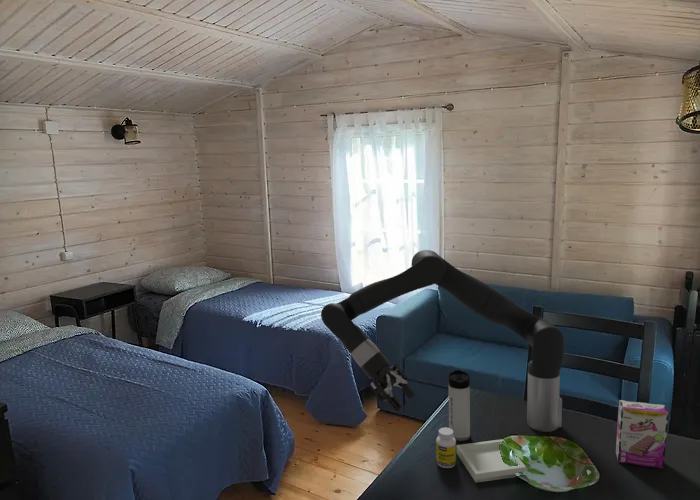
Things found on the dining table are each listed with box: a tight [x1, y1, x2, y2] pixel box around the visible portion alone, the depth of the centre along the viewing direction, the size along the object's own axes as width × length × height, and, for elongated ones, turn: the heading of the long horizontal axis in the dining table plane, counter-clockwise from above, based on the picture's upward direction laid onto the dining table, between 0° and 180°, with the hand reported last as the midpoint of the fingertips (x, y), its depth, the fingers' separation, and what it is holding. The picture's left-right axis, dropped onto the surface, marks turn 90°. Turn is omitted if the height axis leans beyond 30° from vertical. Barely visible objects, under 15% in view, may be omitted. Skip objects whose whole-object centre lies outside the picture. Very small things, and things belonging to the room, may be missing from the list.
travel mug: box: [448, 369, 471, 442], centre depth 156 cm, size 6×7×20 cm
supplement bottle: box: [435, 426, 457, 469], centre depth 143 cm, size 5×5×10 cm
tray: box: [456, 438, 527, 484], centre depth 142 cm, size 14×14×2 cm
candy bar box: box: [615, 399, 669, 470], centre depth 139 cm, size 11×5×16 cm, turn 71°
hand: (406, 402), depth 147 cm, fingers open, 8 cm apart
